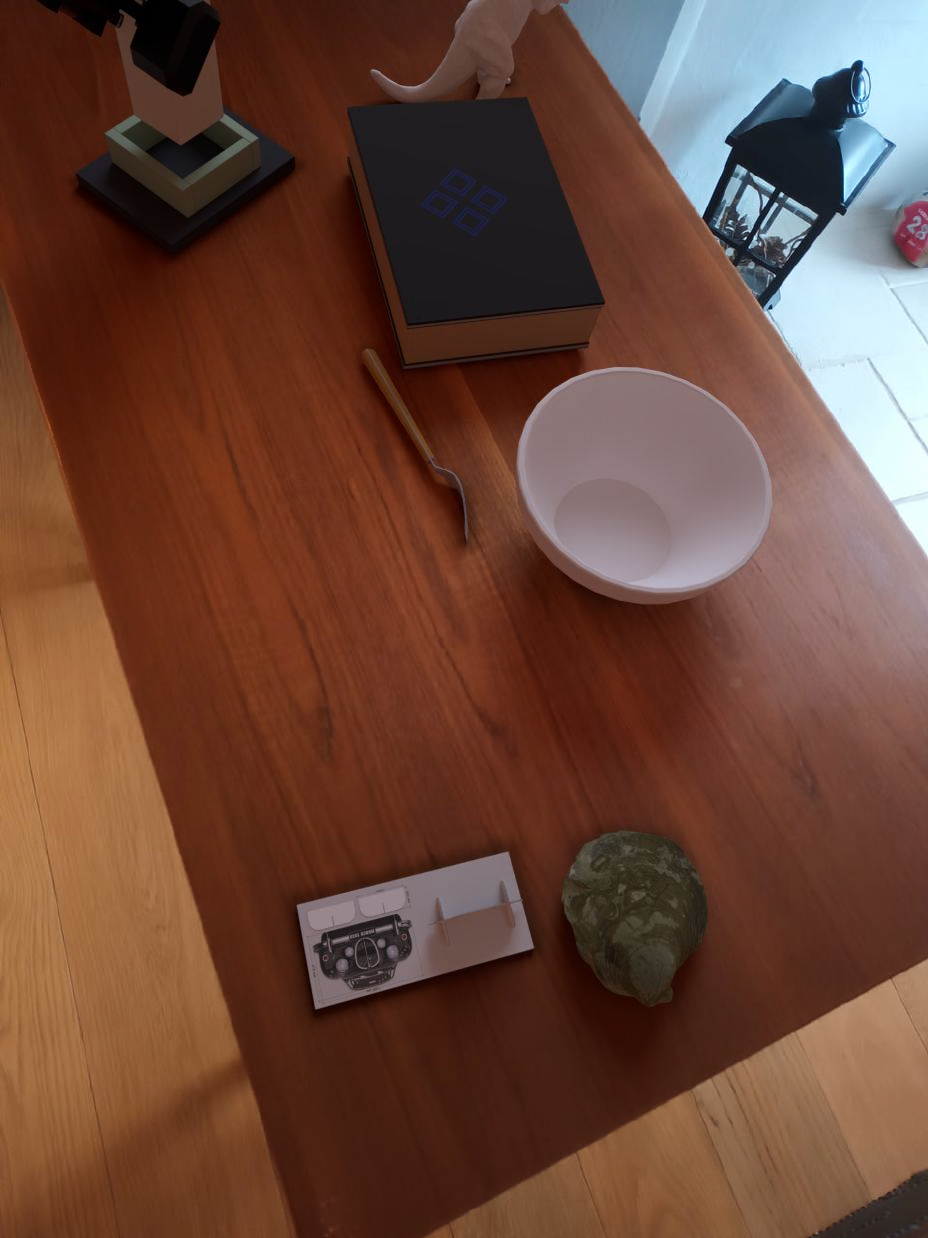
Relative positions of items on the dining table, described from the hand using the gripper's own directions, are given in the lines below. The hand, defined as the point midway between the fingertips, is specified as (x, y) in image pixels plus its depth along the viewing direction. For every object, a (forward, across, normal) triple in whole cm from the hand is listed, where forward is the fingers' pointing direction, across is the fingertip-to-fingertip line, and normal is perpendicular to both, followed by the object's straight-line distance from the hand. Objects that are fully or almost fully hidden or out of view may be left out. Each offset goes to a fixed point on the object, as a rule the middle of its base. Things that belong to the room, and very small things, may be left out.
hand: (176, 32), depth 71 cm
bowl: (+5, -52, +13) cm, 54 cm away
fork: (+2, -35, +16) cm, 38 cm away
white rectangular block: (+4, 0, +6) cm, 7 cm away
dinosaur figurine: (+28, -11, -10) cm, 32 cm away
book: (+16, -25, +3) cm, 29 cm away
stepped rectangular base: (+8, 0, +10) cm, 13 cm away
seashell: (-12, -71, +30) cm, 78 cm away
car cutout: (-19, -59, +38) cm, 73 cm away
